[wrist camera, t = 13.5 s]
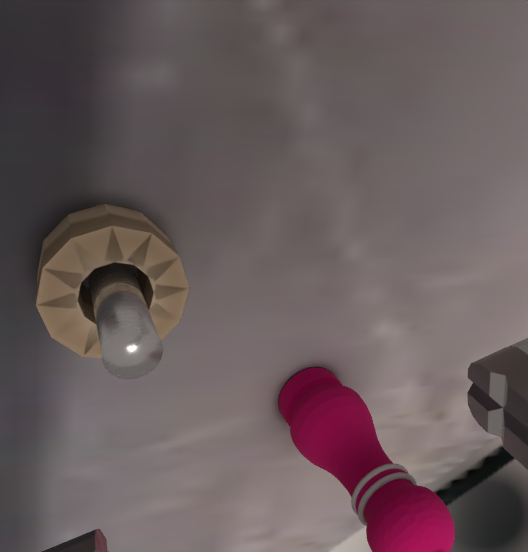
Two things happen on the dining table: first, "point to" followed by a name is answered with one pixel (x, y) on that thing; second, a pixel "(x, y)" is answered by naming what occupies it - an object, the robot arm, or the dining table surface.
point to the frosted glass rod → (123, 322)
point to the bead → (98, 252)
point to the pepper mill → (363, 465)
